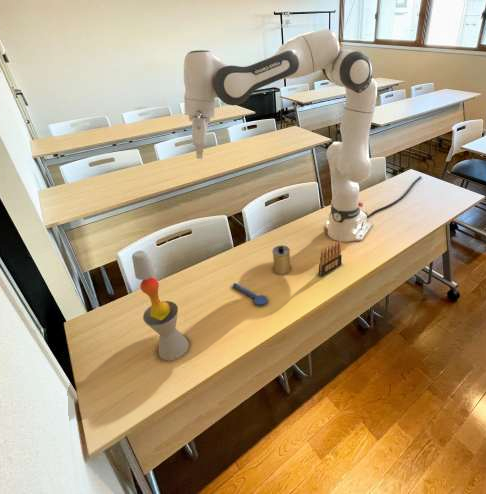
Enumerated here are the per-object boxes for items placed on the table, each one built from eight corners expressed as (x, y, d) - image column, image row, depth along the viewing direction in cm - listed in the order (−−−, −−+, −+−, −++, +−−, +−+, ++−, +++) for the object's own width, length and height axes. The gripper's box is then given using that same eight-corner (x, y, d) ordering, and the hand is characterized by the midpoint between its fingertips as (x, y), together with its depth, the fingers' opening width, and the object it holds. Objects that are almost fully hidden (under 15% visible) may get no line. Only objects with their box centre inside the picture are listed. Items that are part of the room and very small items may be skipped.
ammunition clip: (338, 262, 132) (339, 237, 126) (341, 264, 131) (343, 239, 124) (318, 274, 127) (318, 248, 120) (321, 276, 126) (322, 250, 119)
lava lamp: (151, 354, 98) (109, 259, 78) (172, 332, 105) (139, 239, 85) (175, 365, 95) (137, 269, 75) (195, 341, 102) (166, 247, 81)
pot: (281, 261, 134) (280, 240, 128) (294, 268, 130) (293, 246, 124) (270, 270, 129) (268, 248, 124) (283, 276, 126) (281, 255, 120)
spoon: (229, 288, 121) (229, 285, 120) (238, 282, 124) (238, 279, 123) (261, 308, 113) (260, 305, 112) (269, 300, 115) (269, 297, 115)
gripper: (210, 114, 95) (209, 163, 100) (210, 108, 112) (210, 150, 118) (186, 111, 93) (187, 161, 99) (190, 106, 111) (191, 149, 117)
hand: (200, 155), depth 109 cm, fingers open, 8 cm apart
